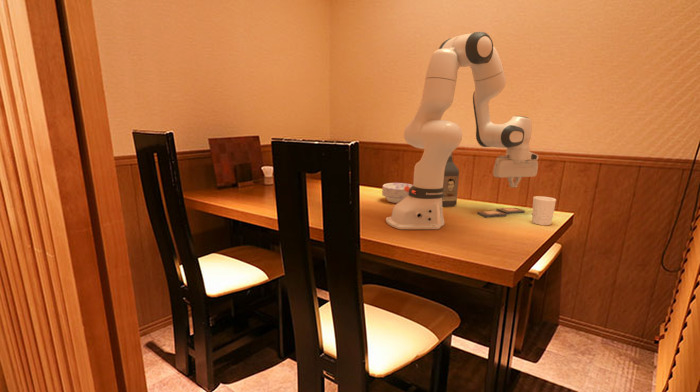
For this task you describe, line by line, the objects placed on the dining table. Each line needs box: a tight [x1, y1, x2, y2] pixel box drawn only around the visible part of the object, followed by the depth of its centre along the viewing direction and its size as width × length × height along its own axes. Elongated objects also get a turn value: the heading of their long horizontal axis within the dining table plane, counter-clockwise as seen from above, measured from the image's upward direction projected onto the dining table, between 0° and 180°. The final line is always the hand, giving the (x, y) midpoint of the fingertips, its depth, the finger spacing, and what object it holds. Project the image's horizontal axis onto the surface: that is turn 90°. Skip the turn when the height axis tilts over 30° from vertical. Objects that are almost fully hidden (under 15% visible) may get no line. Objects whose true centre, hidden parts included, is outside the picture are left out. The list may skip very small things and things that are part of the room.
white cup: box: [531, 195, 557, 226], centre depth 145 cm, size 8×8×10 cm
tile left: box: [476, 210, 508, 219], centre depth 156 cm, size 10×6×1 cm, turn 106°
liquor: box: [442, 150, 460, 208], centre depth 170 cm, size 9×9×30 cm
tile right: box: [495, 207, 526, 215], centre depth 162 cm, size 10×6×1 cm, turn 106°
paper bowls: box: [382, 182, 413, 204], centre depth 177 cm, size 15×15×8 cm
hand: (513, 187), depth 160 cm, fingers closed
